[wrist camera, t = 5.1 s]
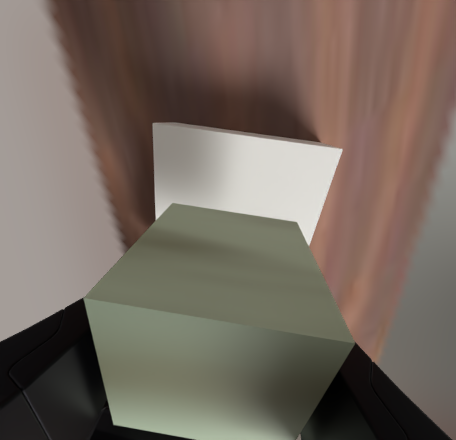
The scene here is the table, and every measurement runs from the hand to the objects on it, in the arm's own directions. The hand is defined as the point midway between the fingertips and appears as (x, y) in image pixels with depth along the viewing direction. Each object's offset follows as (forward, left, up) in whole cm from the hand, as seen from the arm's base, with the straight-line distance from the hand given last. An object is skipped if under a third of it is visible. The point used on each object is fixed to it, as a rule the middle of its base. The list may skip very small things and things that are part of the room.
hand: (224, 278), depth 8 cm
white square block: (0, 0, -9) cm, 9 cm away
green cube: (0, 0, -1) cm, 1 cm away
